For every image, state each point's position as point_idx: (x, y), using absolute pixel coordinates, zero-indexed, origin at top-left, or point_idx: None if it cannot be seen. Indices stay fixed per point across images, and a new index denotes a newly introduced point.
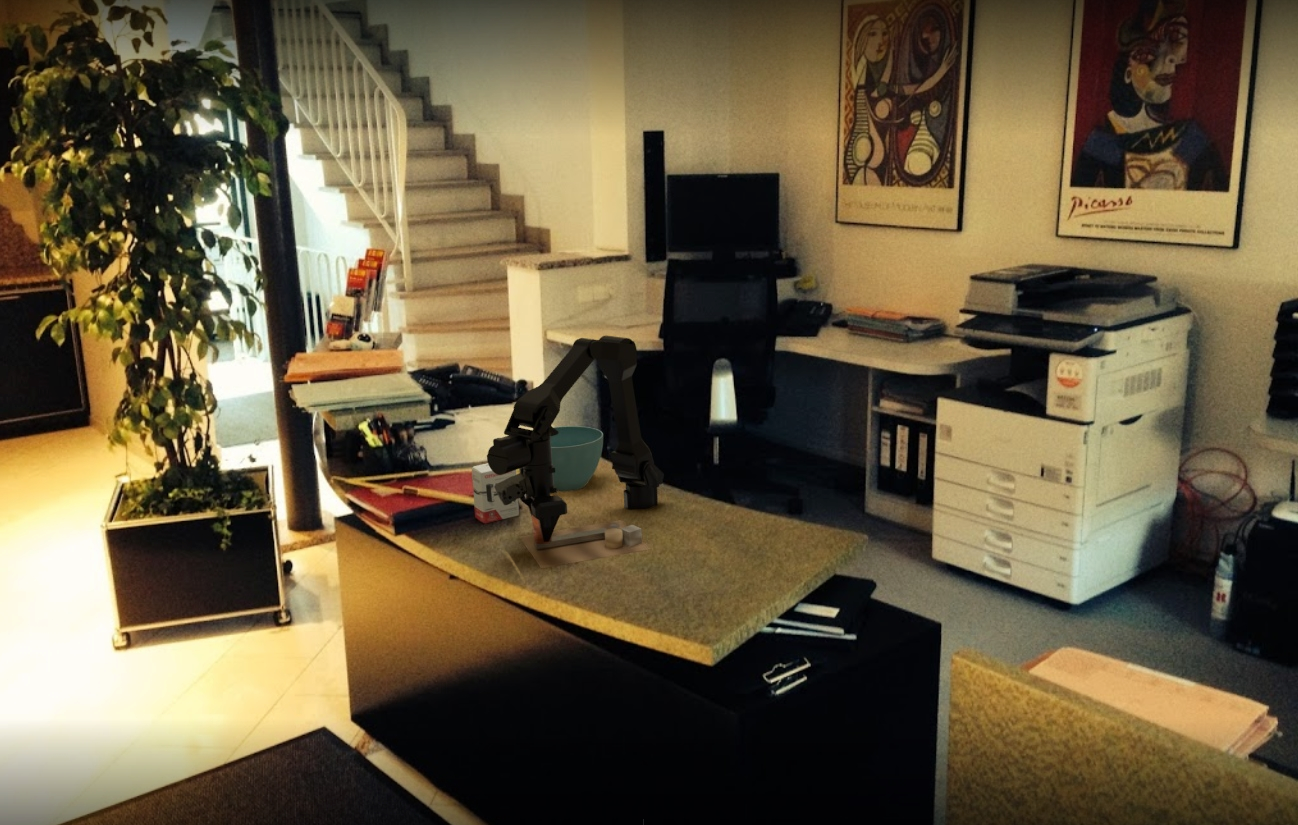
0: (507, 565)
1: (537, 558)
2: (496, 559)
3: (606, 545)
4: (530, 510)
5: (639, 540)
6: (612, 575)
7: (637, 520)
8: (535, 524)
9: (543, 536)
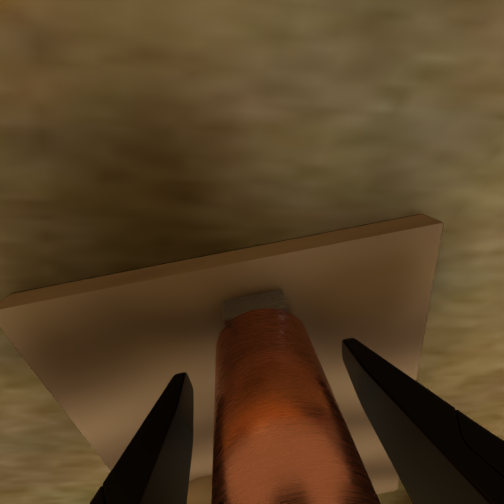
0: (133, 134)
1: (123, 297)
2: (239, 69)
3: (197, 487)
4: (474, 486)
5: None
6: (19, 471)
7: (400, 490)
8: (235, 439)
9: (153, 409)
